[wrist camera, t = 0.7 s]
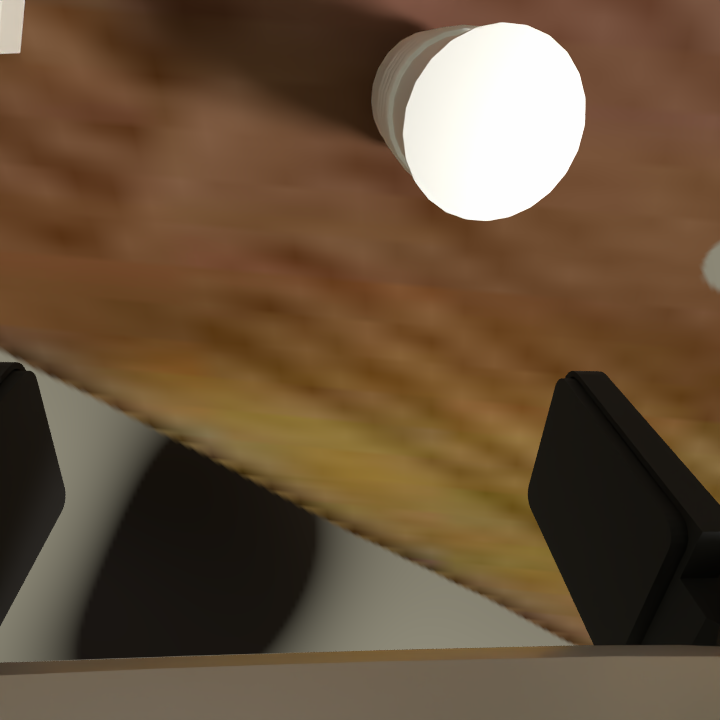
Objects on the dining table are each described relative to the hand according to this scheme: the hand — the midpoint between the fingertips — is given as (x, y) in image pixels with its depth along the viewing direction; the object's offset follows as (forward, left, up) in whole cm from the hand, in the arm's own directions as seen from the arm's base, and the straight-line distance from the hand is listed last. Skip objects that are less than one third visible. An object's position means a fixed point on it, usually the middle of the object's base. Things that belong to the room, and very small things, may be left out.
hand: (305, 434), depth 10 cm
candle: (-6, +5, -29) cm, 30 cm away
